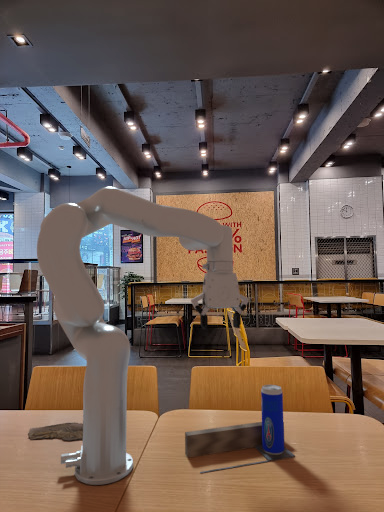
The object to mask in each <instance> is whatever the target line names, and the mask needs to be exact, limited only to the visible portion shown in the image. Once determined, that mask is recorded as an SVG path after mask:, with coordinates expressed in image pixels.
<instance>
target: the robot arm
mask: <svg viewBox="0 0 384 512" xmlns="http://www.w3.org/2000/svg"><path fill="white" fill-rule="evenodd" d="M40 223H41V224H40V229H39V232H38V233H39V234H38V238H37V243H36V257H37V262H38V263H37V264H38V266H39V269H40V271H41V273H42V276H43V278H44V279H45V281H46V283H47V285H48V287H49V290H50V291H51V293H52V295H53V296H54V298H53V303H52V305H53V306H52V307H53V308H52V309H53V313H54V316H55V317H56V319H57V321H58V322H59V325H60V326H61V328H62V330H63V332H64V333H65V335H66V337H67V338H68V340H69V342H70V343H71V345H72V346H73V349H74V350H75V351H76V353H77V354H78V355H79V356H80V357H81V358H82V359H84V360H85V361H86V367H85V371H84V372H85V373H84V379H83V395H82V399H83V400H82V402H83V405H82V407H83V408H82V424H83V440H82V444H81V447H80V449H79V450H76V452H72V453H71V452H66V453H61V454H60V464H61V465H65V468H66V469H67V468H72V467H74V476H75V478H76V479H77V480H78V481H79V482H81V483H83V484H85V485H91V486H98V485H99V486H100V485H107V484H112V483H115V482H118V481H120V480H122V479H124V478H125V477H126V476H128V475H129V474H130V473H131V472H132V470H133V467H134V459H133V457H132V455H131V454H129V453H127V410H128V409H127V408H128V407H127V405H128V404H127V402H128V401H127V398H128V397H127V396H128V395H127V389H128V387H127V385H128V370H129V363H130V358H131V344H130V343H131V342H130V340H129V338H128V336H127V335H126V333H125V331H123V329H120V327H117V326H114V325H112V324H109V323H108V324H107V323H106V322H105V320H104V318H103V316H104V313H105V302H104V298H103V296H102V295H101V293H100V291H99V289H98V288H97V286H96V284H95V283H94V281H93V279H92V277H91V276H90V274H89V272H88V270H87V268H86V266H85V263H84V261H83V258H82V256H81V255H82V254H81V249H80V248H81V242H82V239H84V238H85V237H87V236H90V235H91V234H94V233H95V232H98V231H99V230H101V229H102V228H104V227H107V226H109V225H113V226H118V227H121V228H124V229H126V230H130V231H133V232H136V233H140V234H141V235H144V236H148V237H154V238H155V237H156V238H164V237H169V238H170V237H174V238H178V242H179V244H180V246H182V247H183V248H184V249H186V250H187V251H193V252H195V251H203V250H205V251H206V263H203V264H202V267H201V268H202V270H205V271H206V272H205V273H204V278H203V282H202V292H201V293H200V294H199V295H196V296H195V297H193V298H191V300H190V302H191V304H192V306H193V308H194V310H195V311H196V312H197V313H198V314H199V315H200V316H199V319H200V322H199V323H200V327H201V329H202V330H205V331H207V330H209V327H208V325H209V324H208V323H209V321H208V320H209V319H208V318H209V317H208V315H207V313H208V312H209V310H210V309H231V310H233V312H234V313H233V314H232V318H233V319H232V323H233V324H232V325H233V326H232V327H234V328H235V329H240V327H241V326H240V325H241V324H242V323H241V322H242V319H241V315H242V314H243V312H244V310H245V309H246V308H247V305H248V303H249V300H250V299H249V298H248V297H247V296H245V295H243V294H241V293H240V287H239V282H238V277H237V272H234V257H233V256H234V251H233V249H234V248H233V247H234V246H233V245H234V244H233V242H234V241H233V229H232V227H230V226H229V225H225V224H220V222H218V221H217V220H216V219H214V218H213V217H210V216H208V215H205V214H203V213H200V212H198V211H194V210H191V209H186V208H180V207H175V206H169V205H162V204H159V203H156V202H154V201H150V200H148V199H146V198H143V197H141V196H137V195H135V194H133V193H131V192H128V191H125V190H123V189H120V188H117V187H114V186H105V187H102V188H100V189H99V190H98V189H97V191H96V192H94V193H92V194H91V195H90V196H88V197H87V198H85V199H83V200H80V201H79V202H78V201H77V203H72V202H65V203H61V204H58V205H56V206H55V207H54V208H53V209H51V210H50V211H49V213H48V214H47V215H45V216H44V218H43V219H42V221H41V222H40ZM199 301H202V307H201V306H200V305H199Z"/></svg>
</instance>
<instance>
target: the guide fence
mask: <svg viewBox="0 0 384 512" xmlns="http://www.w3.org/2000/svg"><path fill="white" fill-rule="evenodd" d="M283 426H284V427H285V422H284V421H283ZM184 442H185V443H184V453H185V456H186V457H187V458H194V457H200V456H201V457H202V456H207V455H213V454H219V453H225V452H226V453H227V452H233V451H237V450H238V451H239V450H244V449H250V448H251V449H252V448H255V449H256V450H257V451H258V452H259V454H260V455H261V456H263V457H264V458H265V459H266V460H262V461H256V462H251V463H245V464H238V465H233V466H226V467H221V468H216V469H215V468H214V469H209V470H205V471H203V470H202V471H200V472H199V473H200V474H205V473H211V472H215V471H216V472H217V471H223V470H228V469H234V468H238V467H244V466H251V465H256V464H264V463H268V462H273V461H274V462H275V461H280V460H284V459H289V458H295V457H296V455H295V454H294V453H293V452H292V451H290V449H288V448H287V447H286V446H285V445H284V451H283V452H282V454H280V455H270V454H268V453H266V452H265V451H264V449H263V447H262V421H259V422H250V423H243V424H235V425H228V426H220V427H214V428H205V429H198V430H191V431H184Z"/></svg>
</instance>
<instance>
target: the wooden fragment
mask: <svg viewBox="0 0 384 512" xmlns="http://www.w3.org/2000/svg"><path fill="white" fill-rule="evenodd" d="M27 436H28V438H29V439H30V441H33V440H37V439H52V440H53V439H58V440H59V439H61V440H63V441H77V440H78V441H79V440H82V441H83V422H82V423H81V422H80V423H79V422H75V421H74V422H64V423H63V422H62V423H58V424H52V425H45V426H39V427H31V428H29V430H28V432H27Z"/></svg>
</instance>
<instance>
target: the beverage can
mask: <svg viewBox="0 0 384 512" xmlns="http://www.w3.org/2000/svg"><path fill="white" fill-rule="evenodd" d="M260 396H261V398H260V399H261V400H260V401H261V402H260V403H261V422H262V447H263V449H264V451H265V452H266V453H268V454H270V455H280V454H282V452H283V451H284V446H285V425H284V426H283V422H284V401H283V397H284V396H283V389H282V387H281V386H279V385H276V384H265V385H263V386H261V390H260Z"/></svg>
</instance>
